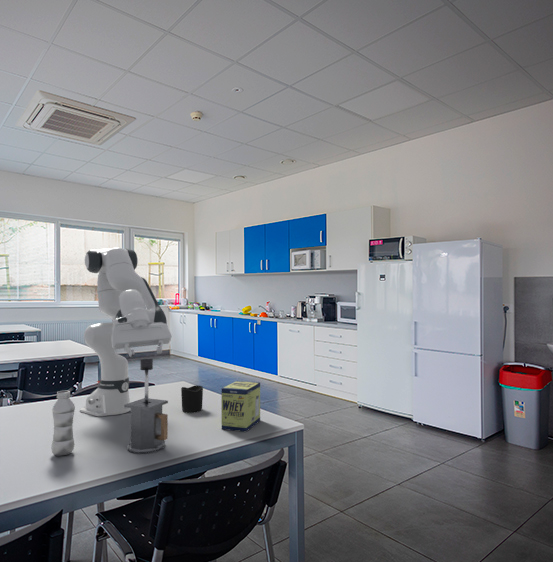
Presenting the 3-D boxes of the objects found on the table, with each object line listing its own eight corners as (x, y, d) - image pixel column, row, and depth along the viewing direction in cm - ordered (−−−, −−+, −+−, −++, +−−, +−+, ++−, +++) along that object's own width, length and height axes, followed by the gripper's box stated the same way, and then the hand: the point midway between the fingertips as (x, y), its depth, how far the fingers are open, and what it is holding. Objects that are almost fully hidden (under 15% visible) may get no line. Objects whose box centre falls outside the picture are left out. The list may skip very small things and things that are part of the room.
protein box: (220, 429, 162) (220, 388, 163) (237, 418, 177) (237, 380, 178) (246, 432, 159) (246, 390, 160) (260, 420, 174) (260, 381, 174)
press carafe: (119, 450, 141) (119, 405, 141) (144, 439, 152) (144, 397, 152) (153, 456, 135) (153, 409, 136) (176, 444, 146) (176, 400, 147)
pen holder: (185, 407, 195) (185, 385, 195) (205, 408, 193) (205, 385, 193) (177, 412, 185) (177, 389, 186) (198, 413, 184) (198, 390, 184)
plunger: (129, 415, 142) (129, 359, 143) (145, 410, 149) (145, 356, 150) (147, 418, 139) (148, 361, 140) (162, 412, 146) (162, 357, 147)
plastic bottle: (56, 451, 141) (56, 389, 142) (77, 450, 142) (78, 389, 142) (47, 458, 134) (48, 394, 135) (69, 457, 135) (70, 393, 136)
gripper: (164, 327, 162) (174, 356, 154) (107, 332, 151) (114, 363, 143) (167, 316, 159) (177, 344, 150) (109, 320, 148) (116, 351, 139)
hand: (146, 354), depth 147 cm, fingers open, 8 cm apart
